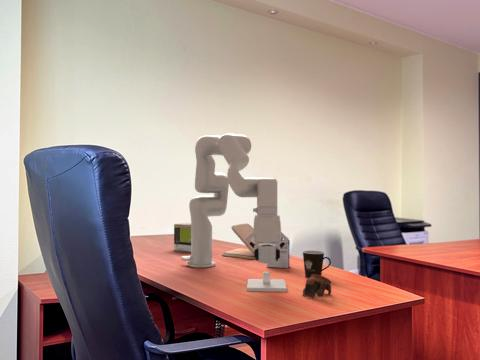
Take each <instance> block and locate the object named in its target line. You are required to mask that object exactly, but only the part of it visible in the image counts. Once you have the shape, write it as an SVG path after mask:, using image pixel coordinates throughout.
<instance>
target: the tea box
mask: <svg viewBox="0 0 480 360" xmlns="http://www.w3.org/2000/svg"><path fill="white" fill-rule="evenodd" d="M173 250H174V251H178V252H189V253H191V222H182V223H174V224H173Z"/></svg>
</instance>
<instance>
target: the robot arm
mask: <svg viewBox="0 0 480 360" xmlns="http://www.w3.org/2000/svg"><path fill="white" fill-rule="evenodd" d="M194 146H195V148H194V152H195V159H196V163H195V165H196V167H195V175H194V176H195V177H194V189H195V191H196V192H197V193H198V194H199V193H200V194H214V195H197V196H194V197H192V198H191V199H190V201H189V205H188V206H189V207H188V208H189V214H190V223H191V252H190V253H191V254H190V255H182V256H181V261H187V266H188V267H190V268H191V267H192V268H197V269H198V268H199V269H201V268H202V269H203V268H212V267H215V266H216V262H215V261H213V225H212V222H211V221H210V219H209V218H210V217H222V216H223V215H224V214H225V213H226V211H227V207H228V199H229V198H228V197H229V196H228V195H229V188H230V189H231V190H232V192H233V193H234V194H235V195H236V196H237V197H238V198H256V207H254V208H253V207H252V212H253V213H256V214H255V215H254V218H253V228H254V229H253V232H252V233H251V234H250V235H249V236H248V237H247V238H246V241H247V242H248V243H249V244H250V245H251V246H252V247H253V248H254V258H256V259H255V261H257V262H258V245H259V243H275V244H276V247H277V248H276V260H277V261H278V258H280V249H281V248H282V247H283V246H284V245H285V244H286V243H287V242H288V241H289V240H290V239H289V238H288V236H286V235H285V234H284V233H283V232H282V225H281V224H282V223H281V218H280V217H281V216H280V215H279V214H278V180H277V179H276V178H273V177H244V176H242V175H241V174H240V171H243V170H244V169H246V168H247V166H248V164H249V162H250V158H249V155H248V154H249V153H250V152H251V150H252V142H251V140H250V137H248V136H247V135H244V134H238V133H237V134H235V133H225V134H222V135H221V136H220V135H203V136H200V137H199V138H198V139H197V140H196V142H195V145H194ZM213 156H222V157H224V160H225V161H226V163H227V164H228V166H229V167H228V169H227V175H226V173H223V172H215V171H216V170H215V169H216V161H215V159H214V157H213ZM252 237H253V240H254V241H255V242H256V243H255V244H254V243H253V242H252V241H251V240H250V239H251V238H252ZM281 237H282V238H283V240H284V241H283V242H282V243H281V244H280V245H279V243H278V242H280V241H281Z"/></svg>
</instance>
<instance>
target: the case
mask: <svg viewBox="0 0 480 360" xmlns="http://www.w3.org/2000/svg"><path fill="white" fill-rule="evenodd" d="M253 229H254V226H252V225H251V224H249V223H240V224H239V223H238V224H234V225H231V230H232V231H233V233H234V234H235V235H236V236H237V237H238V238H239V239H240V241H241V242H242V243H243V244H244V245H245V246H246V248H241V247H239V248H238V247H237V248H235V249H232V250H231V249H230V250H227V251H224V252H223V253H222V254H221V256H222V257H228V258H236V259H237V258H238V259H247V260H256V258H254V248H253V247H252V246H251V245H250V244H249V243H248V242H247V241H246V238H247V237H248V236H249V235H250V234H251V233H252V232H253ZM250 240H251V241H252V242H253V243H254V244H255V243H256V242H255V241H254V240H253V237H252V238H251V239H250ZM260 244H267V243H259V245H260Z"/></svg>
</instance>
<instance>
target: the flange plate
mask: <svg viewBox="0 0 480 360" xmlns="http://www.w3.org/2000/svg"><path fill="white" fill-rule="evenodd" d="M246 284H247V285H246V292H273V293H274V292H281V293H283V292H284V293H286V292H288V291H287V289H288V288H287V285H286V280H285V279H281V278H280V279H279V278H278V279H274V278H273V279H272V278H271V272H270V271H263V272H262V278H247V283H246Z"/></svg>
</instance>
